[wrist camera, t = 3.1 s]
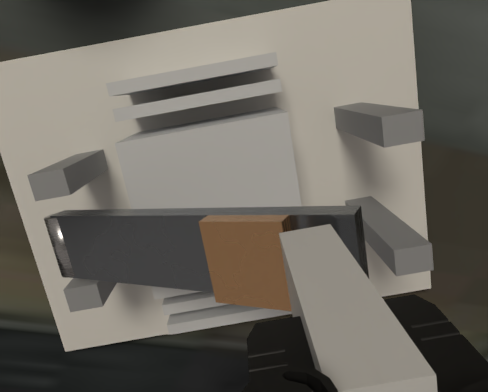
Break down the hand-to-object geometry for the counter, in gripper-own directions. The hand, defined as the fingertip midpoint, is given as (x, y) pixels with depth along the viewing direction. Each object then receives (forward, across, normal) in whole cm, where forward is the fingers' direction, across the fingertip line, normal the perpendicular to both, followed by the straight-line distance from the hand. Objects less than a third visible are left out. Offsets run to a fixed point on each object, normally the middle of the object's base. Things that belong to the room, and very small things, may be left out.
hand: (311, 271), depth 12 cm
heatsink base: (+14, -3, 0) cm, 14 cm away
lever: (+4, -4, 0) cm, 6 cm away
